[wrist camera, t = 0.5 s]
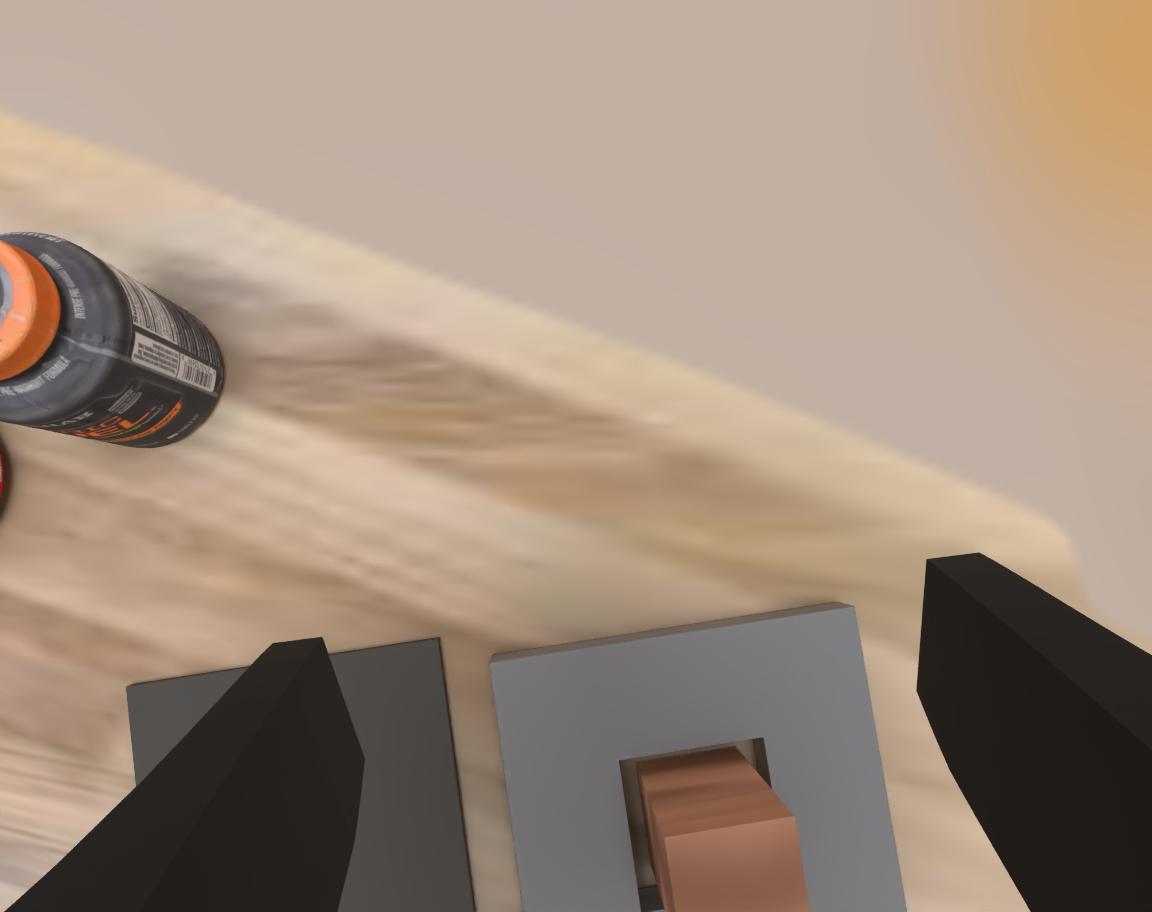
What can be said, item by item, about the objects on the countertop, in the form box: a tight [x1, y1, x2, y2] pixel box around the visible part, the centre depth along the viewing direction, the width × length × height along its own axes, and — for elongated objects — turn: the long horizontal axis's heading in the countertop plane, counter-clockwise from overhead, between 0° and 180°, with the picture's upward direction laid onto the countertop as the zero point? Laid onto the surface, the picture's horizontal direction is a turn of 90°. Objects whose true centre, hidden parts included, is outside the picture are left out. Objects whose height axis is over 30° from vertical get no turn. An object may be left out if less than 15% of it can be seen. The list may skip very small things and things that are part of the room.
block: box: [636, 746, 810, 912], centre depth 29 cm, size 4×4×8 cm
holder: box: [489, 602, 907, 912], centre depth 32 cm, size 14×14×2 cm
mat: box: [126, 637, 475, 912], centre depth 32 cm, size 12×12×1 cm
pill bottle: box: [0, 232, 223, 448], centre depth 28 cm, size 6×6×11 cm
